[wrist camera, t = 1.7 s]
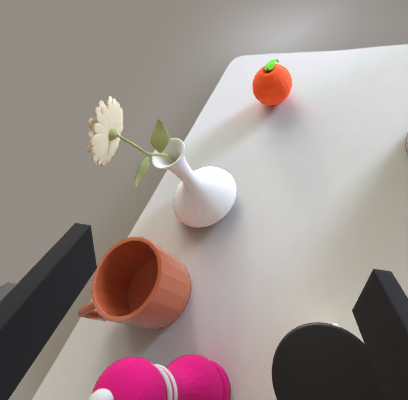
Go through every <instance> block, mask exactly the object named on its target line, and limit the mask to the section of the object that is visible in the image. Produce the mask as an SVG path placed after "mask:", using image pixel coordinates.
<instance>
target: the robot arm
mask: <svg viewBox="0 0 408 400" xmlns="http://www.w3.org/2000/svg"><path fill="white" fill-rule="evenodd" d="M406 154H407V157H408V135H407V139H406ZM96 268H97V266H96V259H95V252H94V245H93V238H92V232H91V226H90V225H85V224H78V223H75V224H74V225H73V226H72V227H71V228H70V229H69V231H67V232H66V234H65V235H64V236H63V237H62V238H61V239H60V240H59V241H58V242H57V243H56V244H55V245H54V246H53V247H52V248H51V249H50V250H49V251H48V253H46V255H45V256H44V257H43V258H42V259H41V260H40V261H39V262H38V263H37V264H36V265H35V266H34V267H33V268H32V269H31V270H30V271H29V272H28V273H27V275H25V277H23V278H22V280H21V281H20V282H19V283H18V284H14V283H6V284H5V285H3V286H1V287H0V400H8V399H9V397H10V396H11V395H12V393H13V392H14V390H15V389H16V387H17V385H18V384H19V383H20V381H21V380H22V378H23V377H24V375H25V374H26V372H27V371H28V369H29V368H30V366H31V365H32V363H33V362H34V361H35V359H36V358H37V356H38V355H39V353H40V352H41V350H42V349H43V347H44V346H45V344H46V343H47V341H48V340H49V338H50V337H51V335H52V334H53V332H54V331H55V329H56V328H57V326H58V325H59V323H60V322H61V320H62V319H63V317H64V316H65V314H66V313H67V311H68V310H69V309H70V307H71V306H72V304H73V303H74V301H75V299H76V298H77V297H78V295H79V294H80V292H81V291H82V289H83V288H84V286H85V285H86V283H87V282H88V280H89V279H90V277H91V276H92V274H93V273H94V271H95V270H96ZM352 311H353V314H354V317H355V319H356V322H357V325H358V327H359V330H360V333H361V335H362V338H363V340H364V343H365V346H366V348H367V351H368V354H369V356H370V359H371V362H372V364H373V367H374V370H375V372H376V375H377V378H378V380H379V383H380V386H381V388H382V391H383V393H384V396H385V399H386V400H408V298H407V296H406V295H405V293H404V291H403V290H402V288H401V286H400V285H399V283H398V282H397V280H396V278H395V277H394V275H393V273H392V272H390V271H384V270H377V269H373V271H372V273H371V275H370V277H369V279H368V281H367V283H366V285H365V286H364V288H363V290H362V292H361V294H360V296H359V298H358V300H357V302H356V304H355V306H354V308H353V310H352Z"/></svg>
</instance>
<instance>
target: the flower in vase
mask: <svg viewBox="0 0 408 400" xmlns="http://www.w3.org/2000/svg"><path fill="white" fill-rule="evenodd" d="M122 112H123V110H122V108H120V106H119V103H118V102H117V103H116V100H115V99H113V100H112V97H111V96H109V98H108V103H107V107H106V106H105V105H104V102H103V101H100V102H99V104H98V107H97V108H96V110H95V115H96V118H90V120H89V127H90V128H91V129H92V130H91V131H90V132H89V135H88V137H89V139H91V140H90V144H89V145H88V147H87V151H88V152H91V153H92V154H94V155H93V157H92V163H93V164H95V165H96V164H97V165H98V166H99V165H101V166H104V165H105V164H106V163H108V162H109V161H110V159H111V157H113V156H114V154H115V150H117V148H118V145H119V141H120V139H122V140H124V141H126V142H127V143H129V144H131V145H132V146H134V147H136V148H137V149H139V150H140V151H142V152H143V153H145V154H147V155H149V156H150V155H151V156H152V163H153V165H154V166H155V167H157V168H160V169H168V170H170V171H172V172H173V173H174V174H176V175H177V176H178V177H179V178H180V180H181V183H180V184H179V186H178V188H177V190H176V192H175V195H174V209H175V213H176V215H177V217H178V218H179V220H180V221H181V222H182V223H184V224H185V225H187V226H190V227H198V228H200V227H206V226H209V225H212V224H214V223H216V222H218V221H219V220H221V219H222V218H223V217H224V216H225V215H226V214H227V213H228V212H229V211H230V209H231V207H232V206H233V204H234V201H235V198H236V184H235V181H234V179H233V177H232V176H231V175H230V174H229V173H228V172H226V171H225V170H223V169H220V168H217V167H204V168H200V169H197V170H195V171H192V170H191V168H190V167H189V165H188V164H187V162H186V160H185V157H184V151H185V146H184V143H183V141H182V140H180V139H178V138H171V139H170V137H169V134H168V131H167V129H166V128H165V126H164V125H163V123H162V122H161V121H160V120H158V121H157V123H156V126H155V128H154V131H153V133H152V135H151V144H152V146H153V147H154V148H155V151H154V153H149V152H147V151H144V150H143V149H141V148H140V147H139V146H137V145H136V144H134V143H132V142H131V141H129V140H127V139H126V138H124V137H122V136H121V134H120V133H121V132H122V130H123V123H122V122H123V116H122ZM149 156H147V157H146V158H145V159H144V160H143V161H142V163H141V164H140V165H139V167H138V170H137V172H136V176H135V183H136V186H137V184H138V182H139V180H140V179H141V177H142V176H143V175H144V174H145V173H146V171H147V169H148V166H149Z"/></svg>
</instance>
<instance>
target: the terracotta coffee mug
mask: <svg viewBox="0 0 408 400" xmlns="http://www.w3.org/2000/svg"><path fill="white" fill-rule="evenodd" d="M190 291H191V281H190V276H189V273H188V270H187V268H186V267H185V265H184V264H183V263H182V262H181V261H180V260H178V259H177V258H176V257H175V256H173V255H172V254H170V253H168V252H167V251H165V250H164V249H162V248H161V247H159V246H158V245H156V244H155V243H153V242H152V241H150V240H148V239H145V238H143V237H130V238H127V239H124V240H122V241H120V242H119V243H117V244H116V245H114V246H113V247H112V248H111V249H110V250H109V251H108V252H107V253H106V254H105V255H104V256H103V258H102V259H101V261H100V263H99V264H98V266H97V268H96V271H95V274H94V277H93V281H92V290H91V294H92V300H93V301H91V302H89V303H88V304H86V305H85V306H84V307H82V308H80V309H79V311H78V315H79V316H81V317H85V318H90V319H95V320H100V321H107V320H108V321H113V322H118V323H123V324H128V325H133V326H137V327H142V328H147V329H160V328H164V327H166V326H168V325H170V324H171V323H173V322H174V321H175V320H176V319H177V318H178V317H179V316H180V315H181V314H182V312H183V311H184V309H185V307H186V305H187V303H188V300H189V296H190ZM94 309H96V310H97V311H96V310H94Z"/></svg>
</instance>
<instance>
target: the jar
mask: <svg viewBox="0 0 408 400" xmlns="http://www.w3.org/2000/svg"><path fill="white" fill-rule="evenodd" d="M272 381H273V387H274V391H275V395H276V398H277V400H386V399H385V396H384V393H383V391H382V388H381V386H380V383H379V380H378V378H377V375H376V372H375V370H374V367H373V364H372V362H371V359H370V356H369V354H368V351H367V348H366V346H365V344H364V343H363V342H362V341H361V340H360V339H359V338H357V337H356V336H355V335H353V334H352V333H350V332H349V331H347V330H345V329H343V328H342V327H340V326H339V325H338V324H328V323H320V322H315V323H308V324H304V325H301V326H298V327H296V328H295V329H293V330H291V331H290V332H289V333H288V334H287V335H286V336H285V337H284V338H283V339H282V340H281V342H280V343H279V345H278V347H277V349H276V352H275V355H274V358H273V364H272Z"/></svg>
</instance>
